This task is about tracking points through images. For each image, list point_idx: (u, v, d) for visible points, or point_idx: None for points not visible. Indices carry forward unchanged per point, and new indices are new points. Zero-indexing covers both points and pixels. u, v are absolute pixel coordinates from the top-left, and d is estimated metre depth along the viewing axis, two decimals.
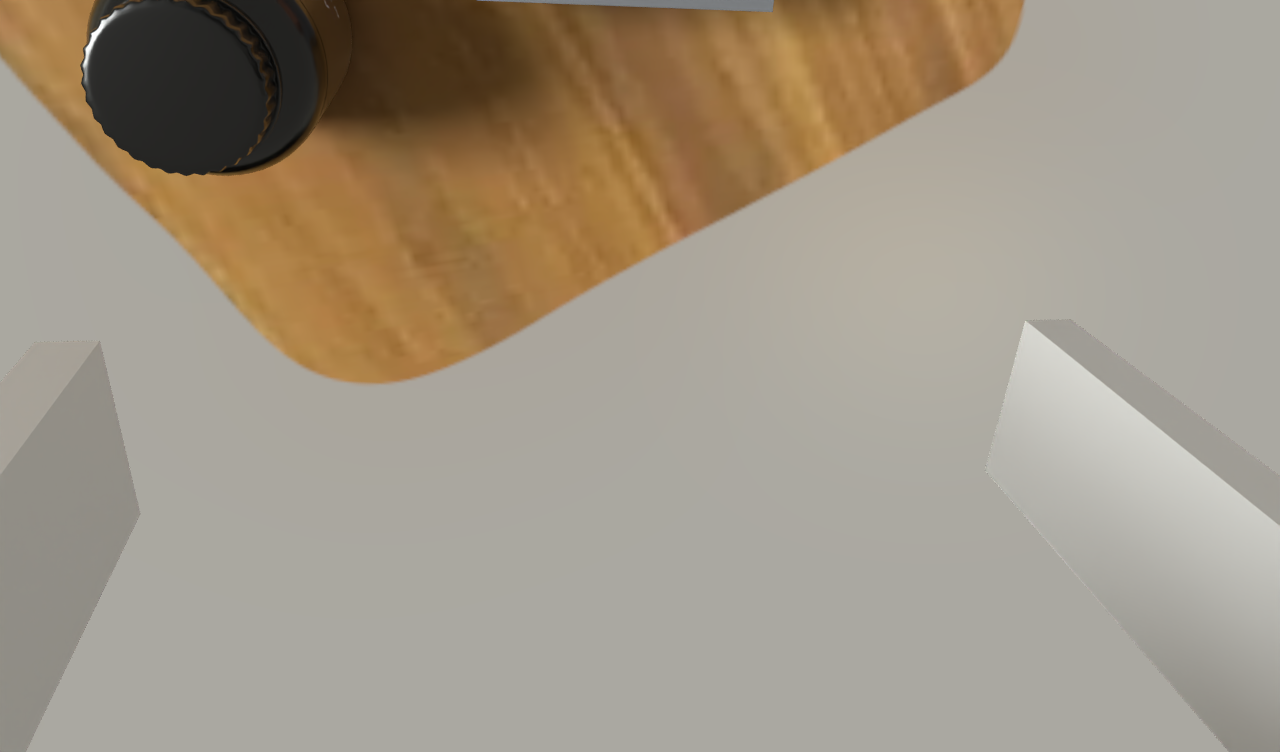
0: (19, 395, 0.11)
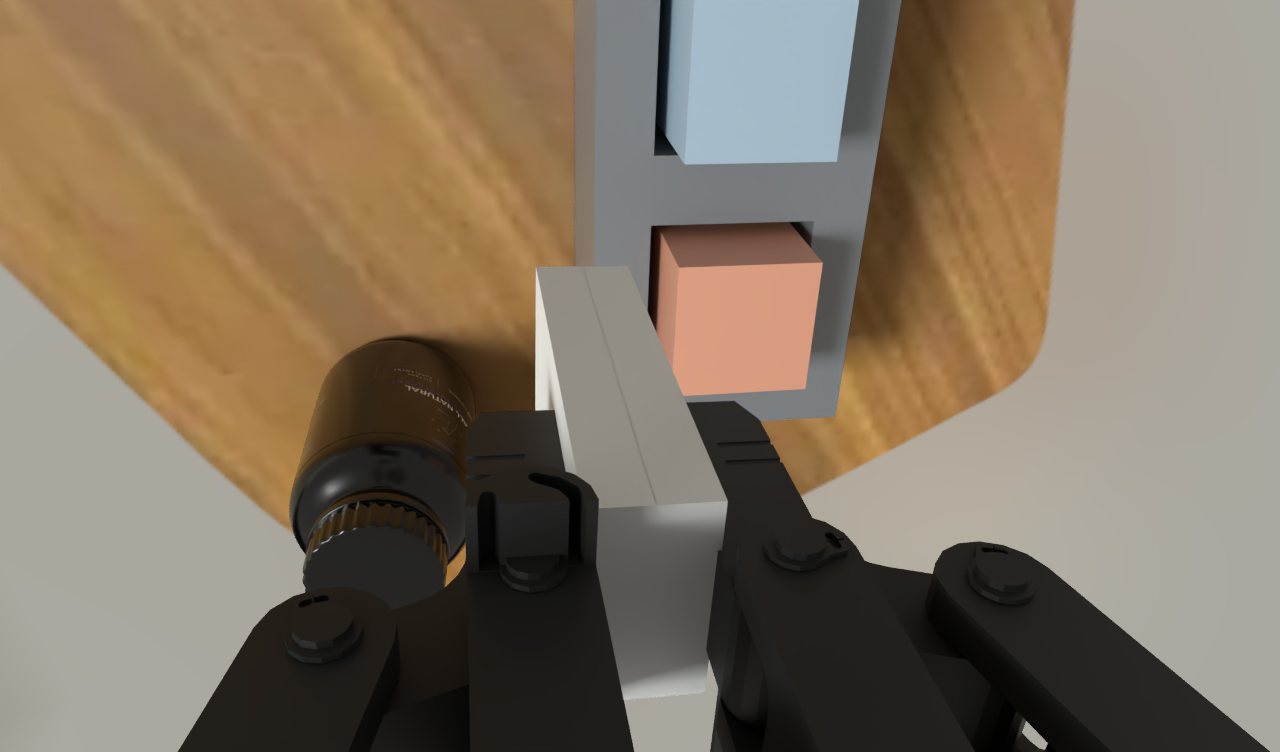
0: (565, 301, 0.14)
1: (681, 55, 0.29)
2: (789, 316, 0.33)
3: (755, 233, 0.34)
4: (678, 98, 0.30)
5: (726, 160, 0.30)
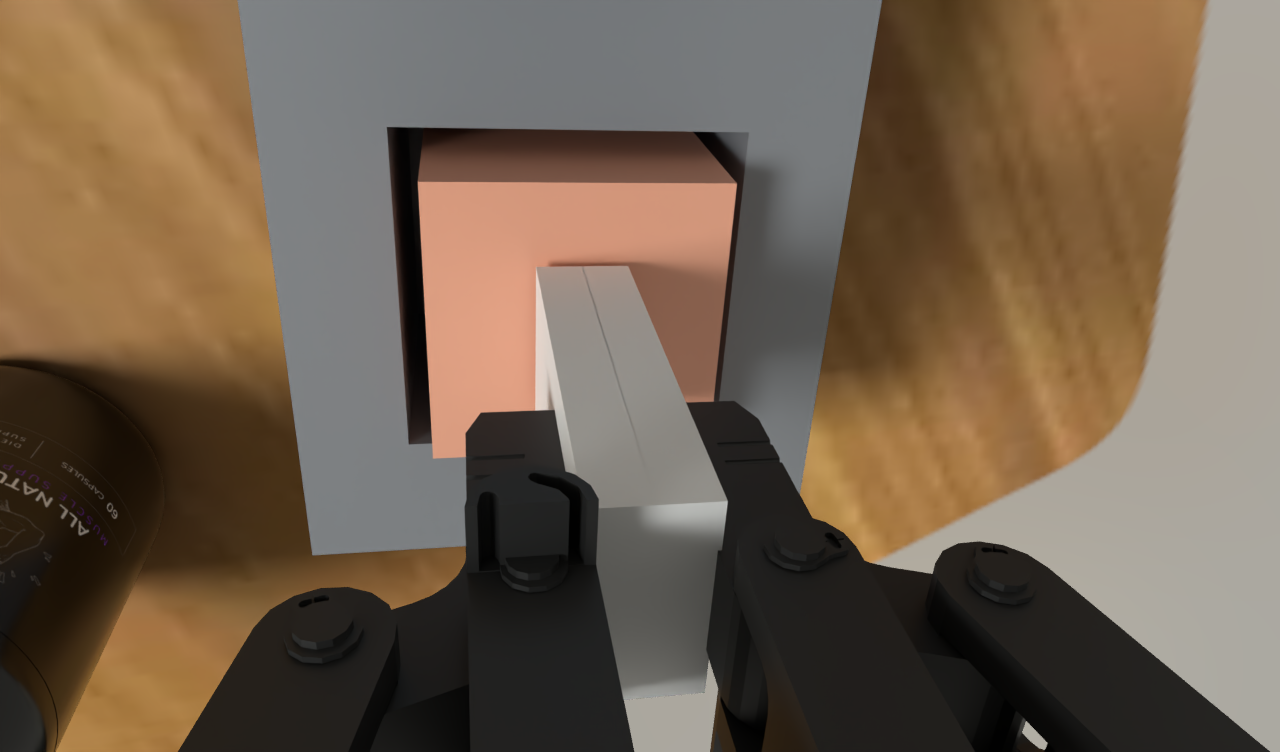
0: (565, 301, 0.14)
1: None
2: (670, 299, 0.16)
3: (614, 135, 0.17)
4: None
5: None
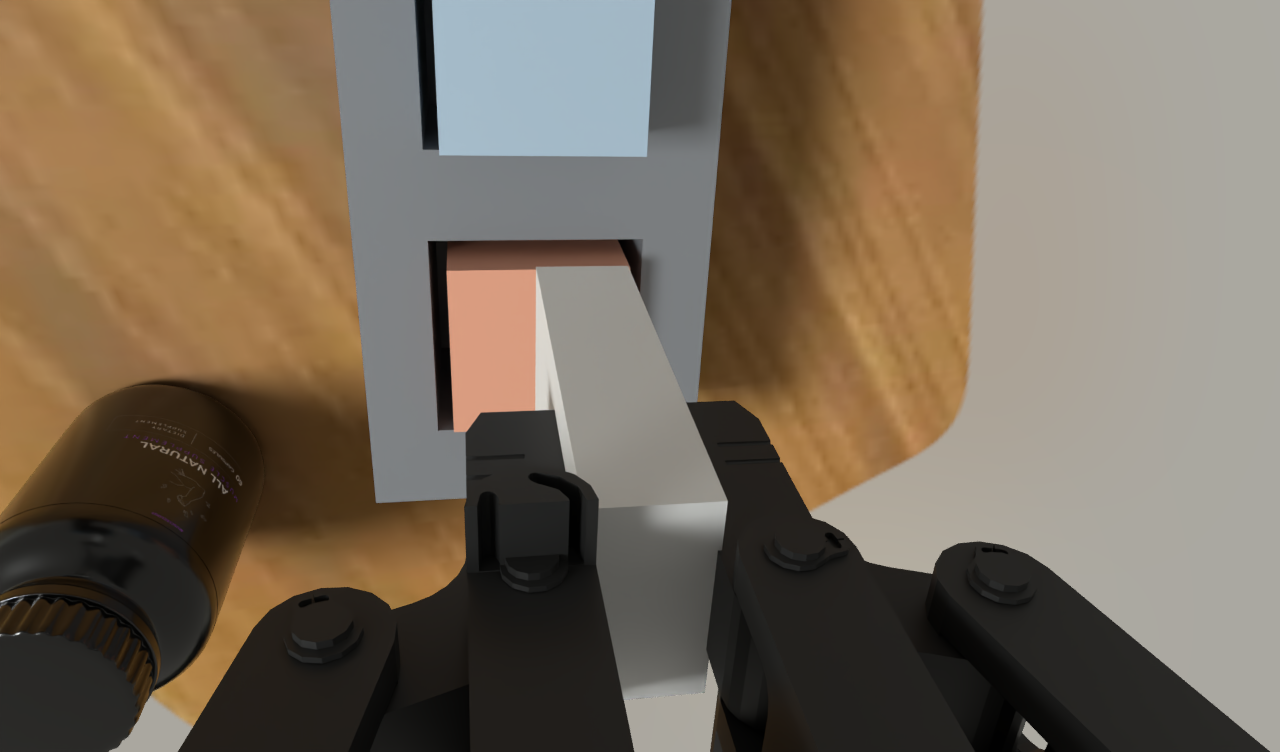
0: (565, 301, 0.14)
1: None
2: None
3: None
4: None
5: (496, 151, 0.23)
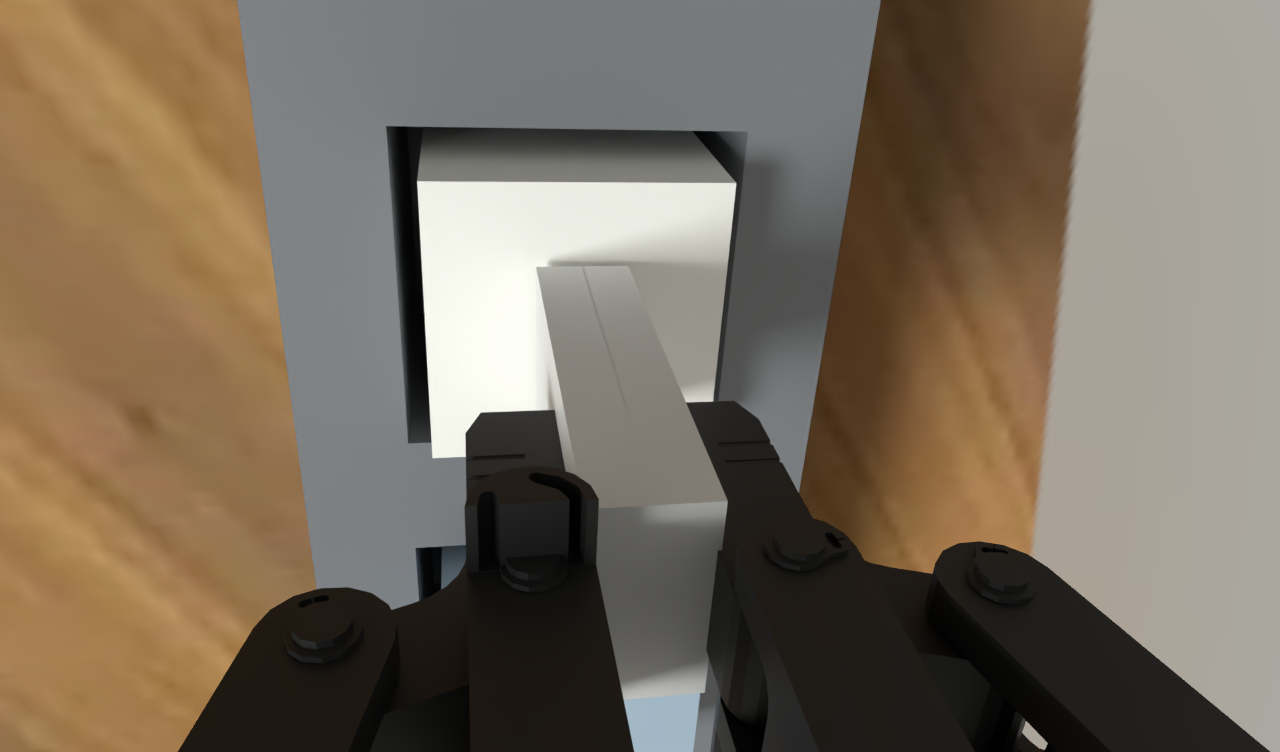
0: (565, 301, 0.14)
1: None
2: None
3: None
4: None
5: None
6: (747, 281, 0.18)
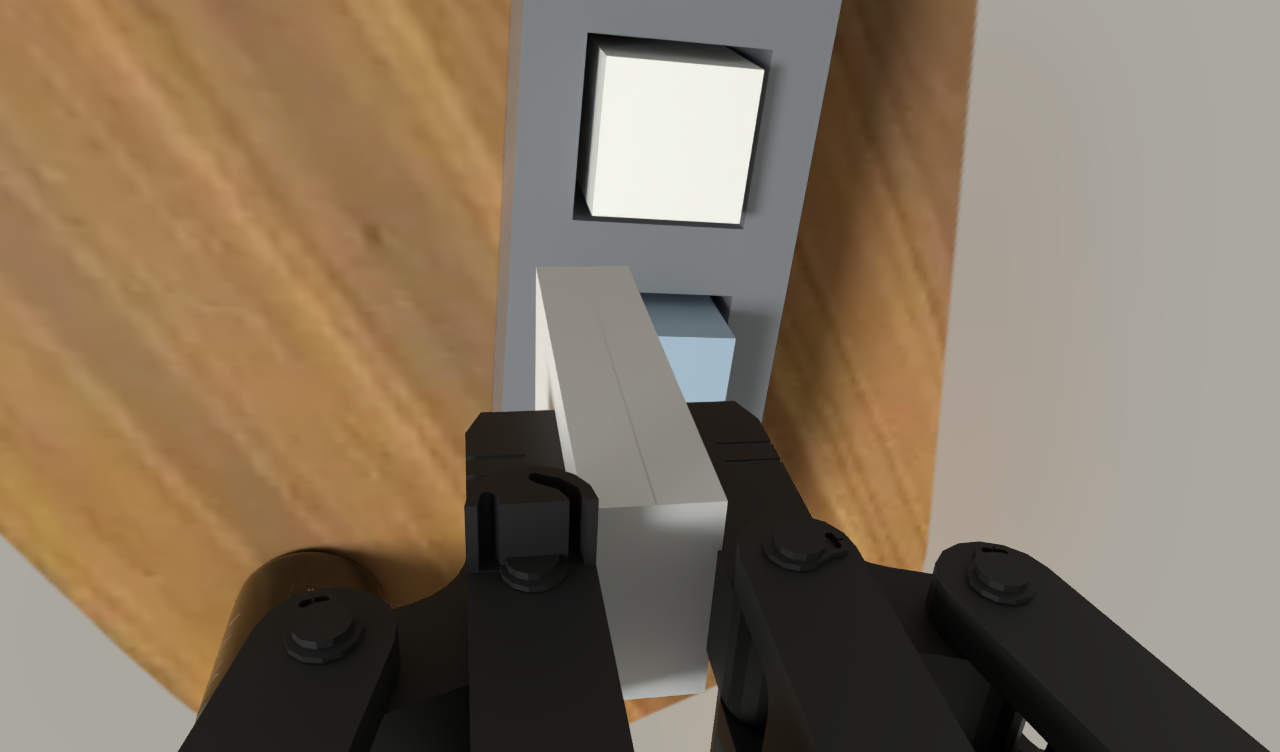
0: (565, 301, 0.14)
1: None
2: None
3: None
4: None
5: None
6: (767, 137, 0.32)
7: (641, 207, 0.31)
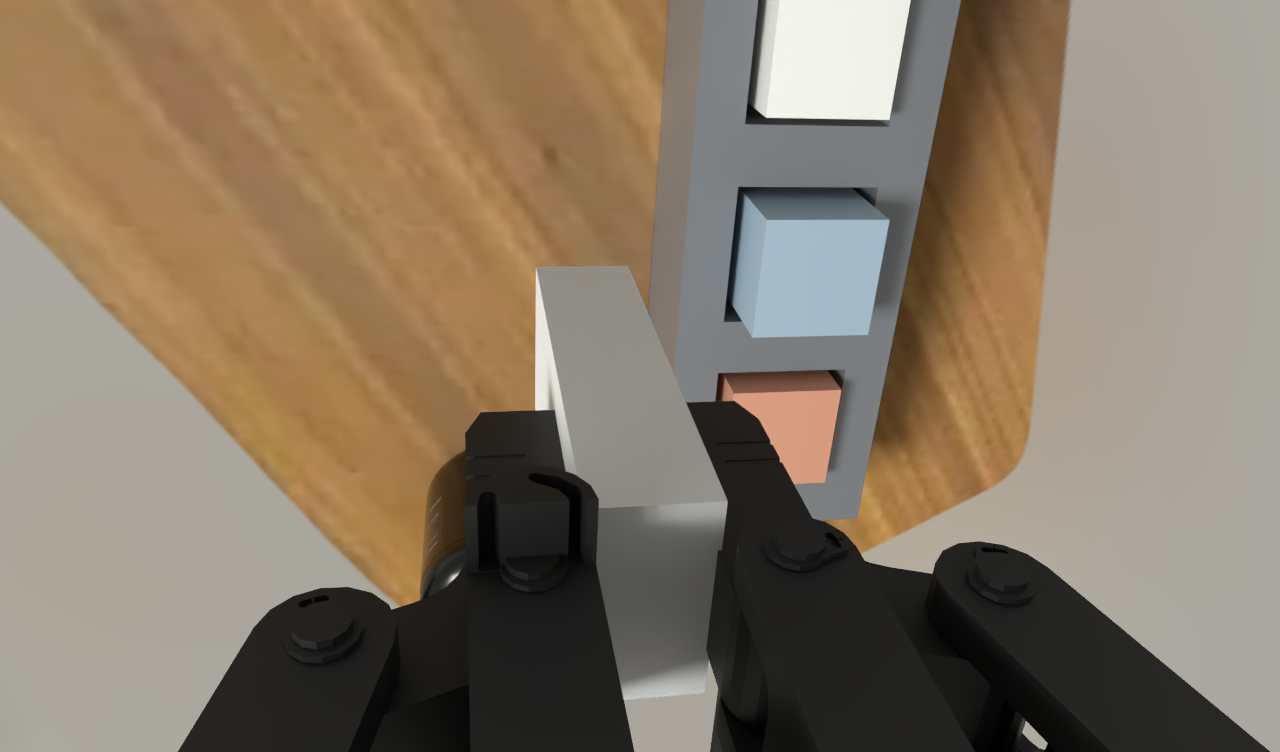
0: (565, 301, 0.14)
1: (751, 255, 0.38)
2: (814, 429, 0.43)
3: None
4: (747, 285, 0.39)
5: (784, 334, 0.39)
6: (911, 42, 0.37)
7: (807, 108, 0.36)
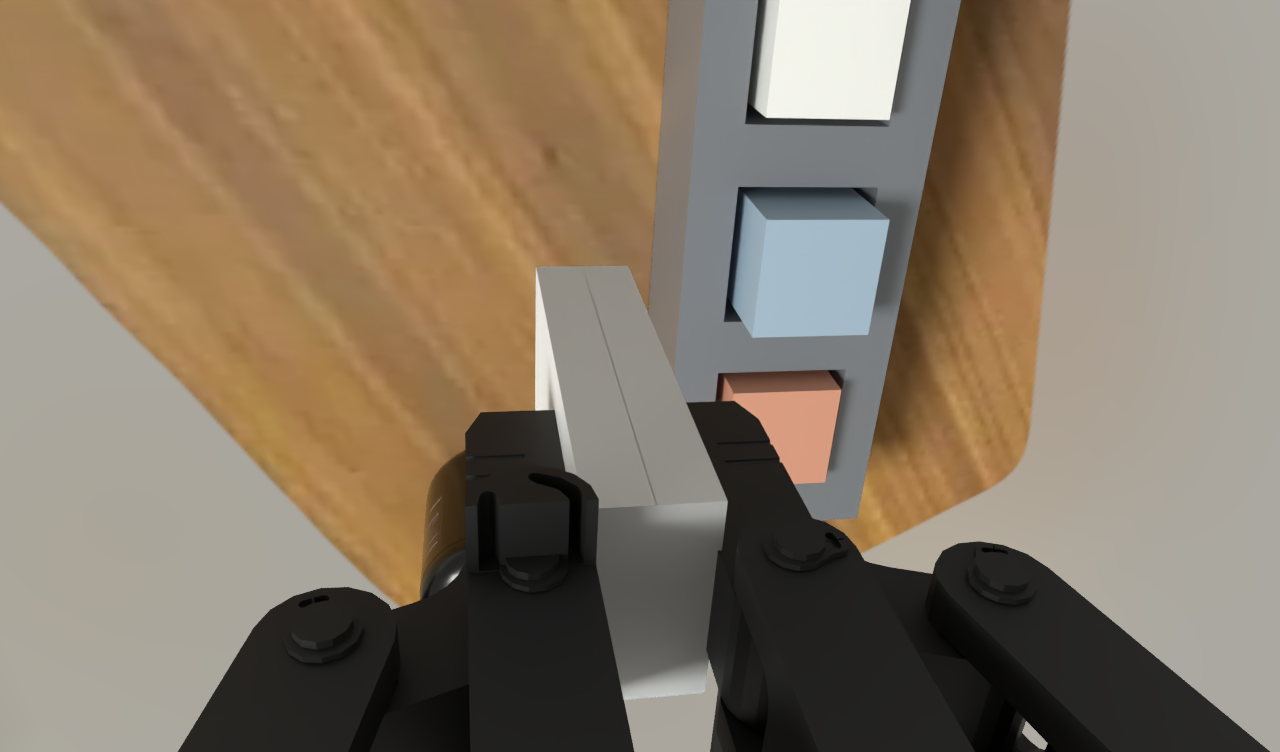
0: (565, 301, 0.14)
1: (751, 255, 0.38)
2: (815, 429, 0.43)
3: None
4: (747, 285, 0.39)
5: (784, 334, 0.39)
6: (911, 42, 0.37)
7: (807, 108, 0.36)
